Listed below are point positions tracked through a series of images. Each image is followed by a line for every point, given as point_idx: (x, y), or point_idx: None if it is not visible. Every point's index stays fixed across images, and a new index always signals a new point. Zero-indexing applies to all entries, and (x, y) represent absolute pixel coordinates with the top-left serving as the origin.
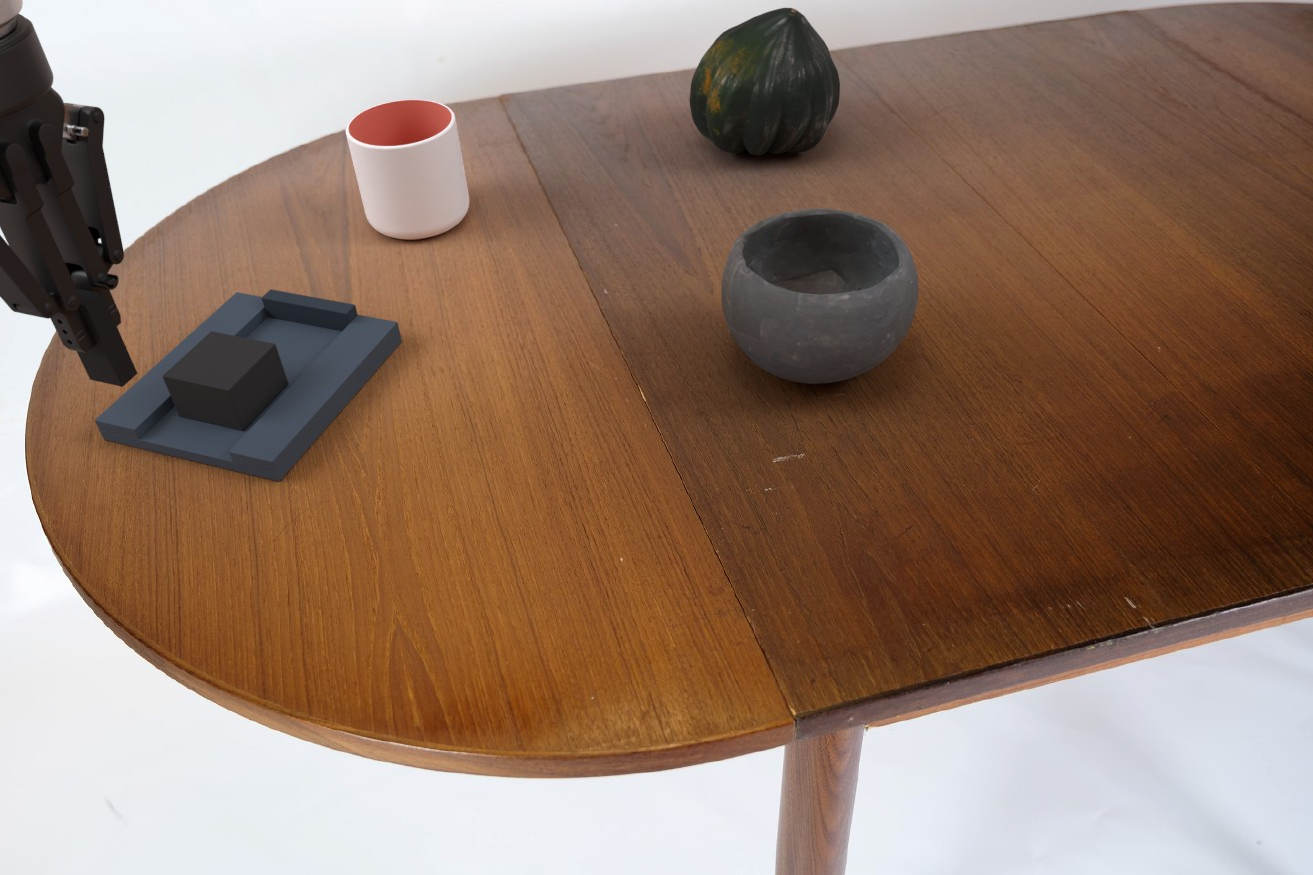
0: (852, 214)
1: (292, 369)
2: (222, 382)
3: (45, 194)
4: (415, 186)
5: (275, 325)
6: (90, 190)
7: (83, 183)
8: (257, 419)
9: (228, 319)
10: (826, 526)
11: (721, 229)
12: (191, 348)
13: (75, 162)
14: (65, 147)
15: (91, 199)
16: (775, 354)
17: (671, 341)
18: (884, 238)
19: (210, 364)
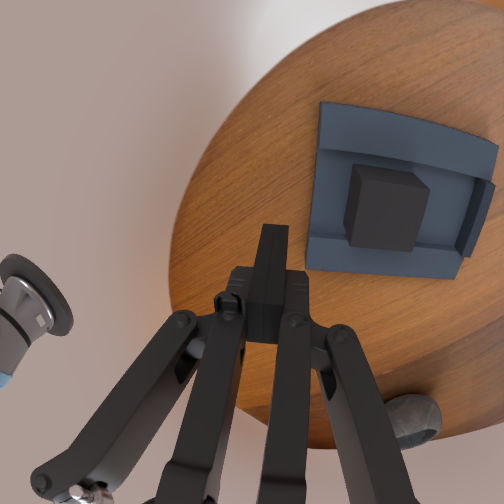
0: (430, 439)
1: None
2: (359, 236)
3: (259, 484)
4: None
5: (467, 186)
6: (343, 457)
7: (348, 464)
8: None
9: (468, 155)
10: (313, 412)
11: (494, 357)
12: (432, 139)
13: (359, 493)
14: None
15: (340, 444)
16: None
17: (422, 369)
18: (417, 442)
19: (383, 214)
